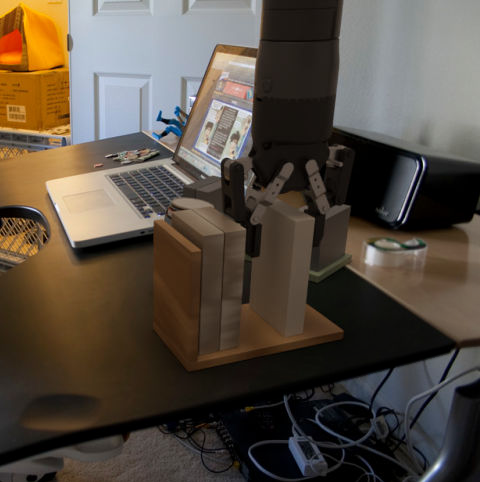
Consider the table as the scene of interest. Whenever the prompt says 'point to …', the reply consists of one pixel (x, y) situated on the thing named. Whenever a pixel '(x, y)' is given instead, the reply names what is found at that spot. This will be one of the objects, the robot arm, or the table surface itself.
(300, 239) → the brown tall flat block
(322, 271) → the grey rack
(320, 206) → the robot arm
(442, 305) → the table surface
